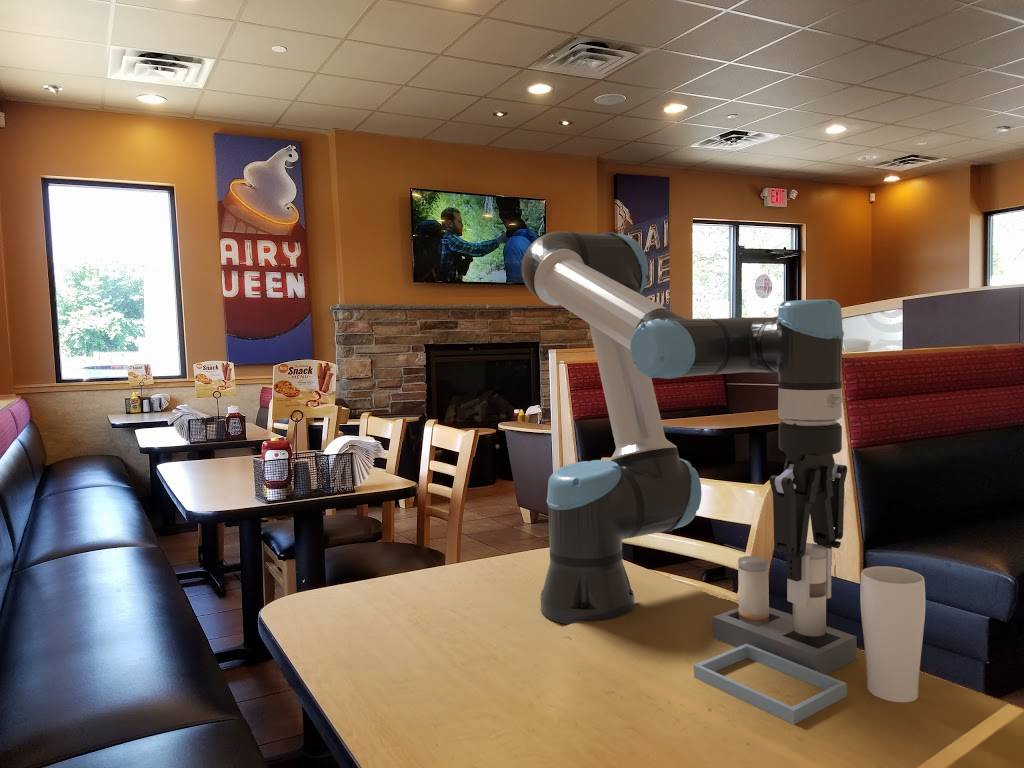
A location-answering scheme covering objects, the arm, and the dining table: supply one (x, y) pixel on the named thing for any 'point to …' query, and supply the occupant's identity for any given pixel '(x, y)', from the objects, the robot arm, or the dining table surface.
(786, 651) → the fuse block
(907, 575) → the drinking glass
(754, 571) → the fuse
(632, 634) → the dining table surface
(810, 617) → the cylinder
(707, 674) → the parts tray
